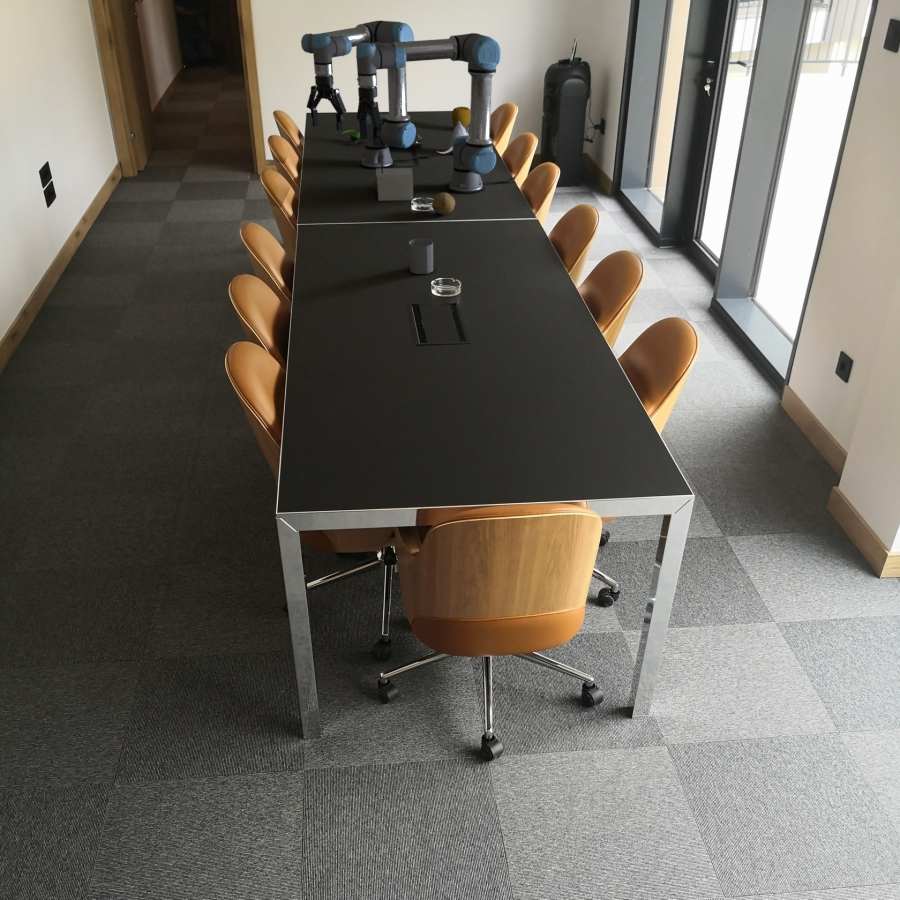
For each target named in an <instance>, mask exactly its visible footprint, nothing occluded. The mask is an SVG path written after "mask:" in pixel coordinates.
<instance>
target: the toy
mask: <svg viewBox="0 0 900 900" xmlns="http://www.w3.org/2000/svg"><path fill="white" fill-rule="evenodd" d="M466 135H470V128H469V126H468V124H467V128H466V127H463V126H462V124H461V123H460V122H459V121H458V124H457V126H456V127H455V128H453V132H452V133H451V137H450V138H451V139H450V140H449V145H448V146H449V149H447V150H445V151H437V153H439V154H444V155H445V154H448V153H450V154H453V141H454V138H455V137H458V136H466Z"/></svg>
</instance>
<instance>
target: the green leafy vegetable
mask: <svg viewBox="0 0 900 900" xmlns="http://www.w3.org/2000/svg"><path fill="white" fill-rule="evenodd" d="M349 132H352V133H351V134H349V136H350V138H349V140H350V141H353V142H348V141H345V140H342V139H340V142H342V143H344V144H345V145H349V146H356V145H358V144H360V143H362V142H364V139H360V131H358V130H357V129H346V130H345V131H342V132H340V134H345V133H349Z"/></svg>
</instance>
